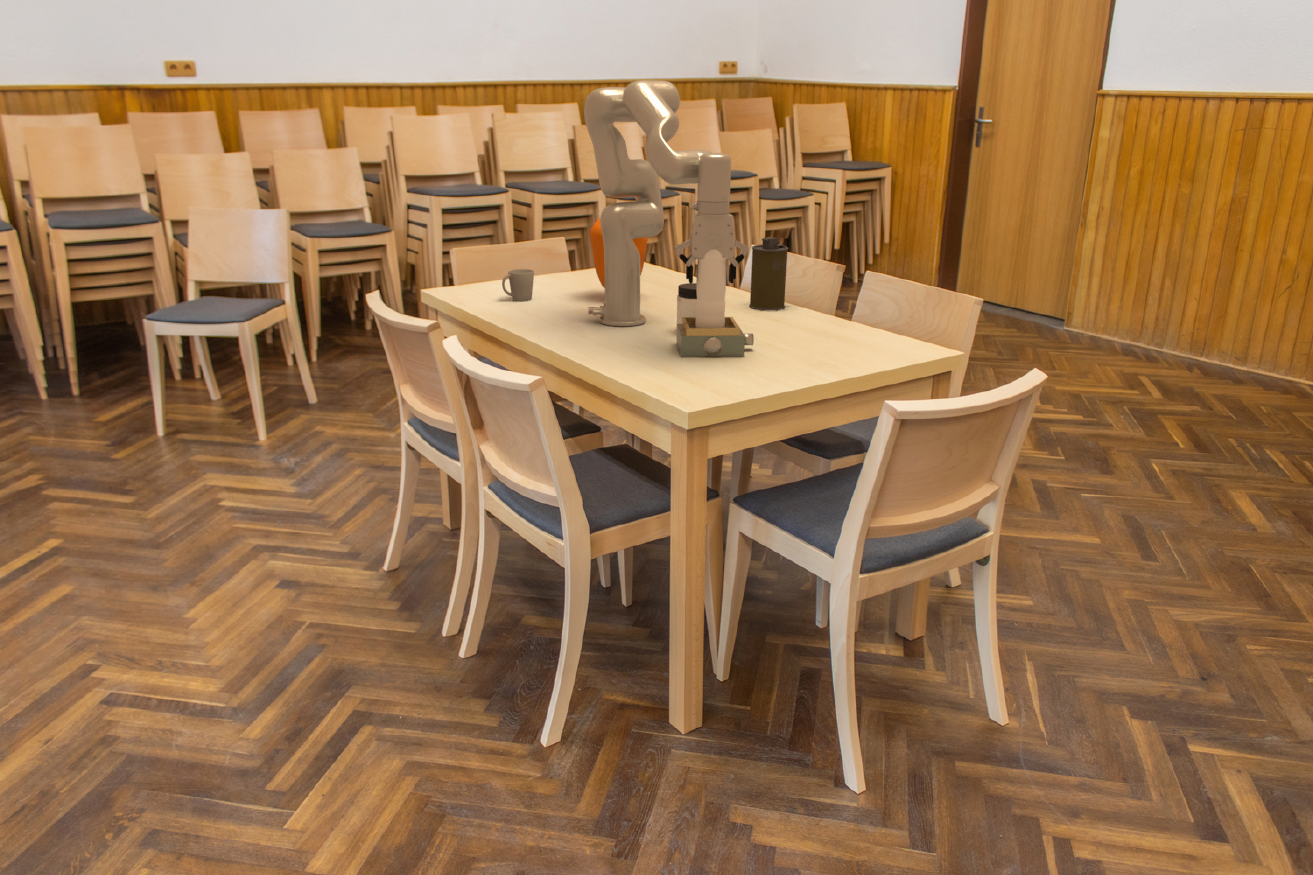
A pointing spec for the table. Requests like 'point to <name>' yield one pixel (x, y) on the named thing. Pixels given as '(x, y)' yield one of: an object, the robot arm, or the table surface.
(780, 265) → the canister
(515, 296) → the cup
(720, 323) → the water bottle
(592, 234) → the orange egg-shaped ornament
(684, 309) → the jar
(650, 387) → the table surface
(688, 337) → the gearbox
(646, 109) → the robot arm
